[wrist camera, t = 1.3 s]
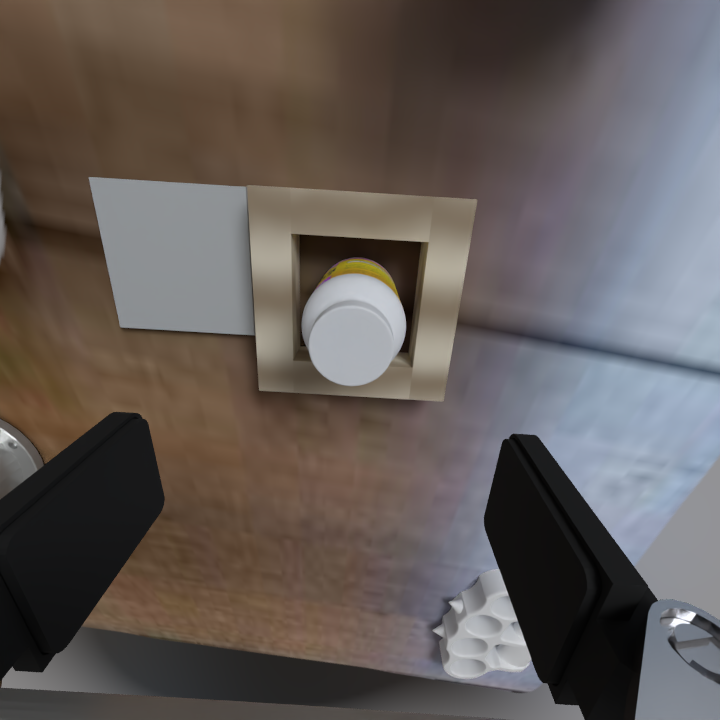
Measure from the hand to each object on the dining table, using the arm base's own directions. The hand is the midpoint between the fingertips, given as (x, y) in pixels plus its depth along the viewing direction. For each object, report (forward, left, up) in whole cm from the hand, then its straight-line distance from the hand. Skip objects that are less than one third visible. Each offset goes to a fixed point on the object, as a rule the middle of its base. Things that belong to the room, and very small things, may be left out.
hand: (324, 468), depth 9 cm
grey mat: (+2, +15, -23) cm, 27 cm away
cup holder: (0, 0, -23) cm, 23 cm away
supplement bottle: (0, 0, -23) cm, 23 cm away
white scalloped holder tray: (-42, -20, -24) cm, 53 cm away
